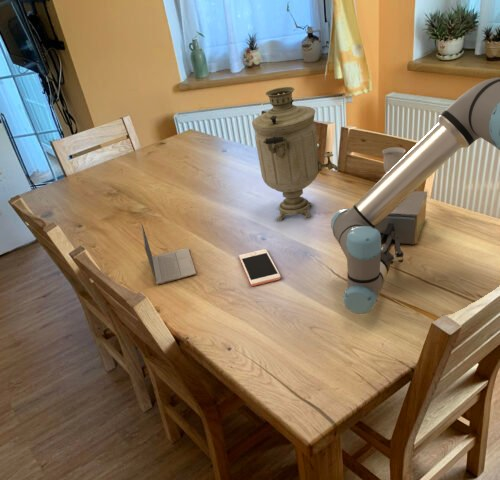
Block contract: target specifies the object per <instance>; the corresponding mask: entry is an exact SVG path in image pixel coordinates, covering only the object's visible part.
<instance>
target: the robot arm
mask: <svg viewBox="0 0 500 480" xmlns="http://www.w3.org/2000/svg"><path fill="white" fill-rule="evenodd" d="M479 139H482V140H484V141H486V142H487V143H489V144H490V145H492V146H493V147H495V148H496V149H497V150H499V151H500V77H499V76H497V77H492V78H488V79H485V80H483V81H481V82H479V83H477V84H475V85H473V86H472V87H471V88H469V89H468V90H466V91H465V92H464V93H462V94H461V95H460V96H459V97H458V98H456V99H455V100H454V101H453V102H452V103H451V104H450V105H448V106H447V108H445V110H444V111H443V112H442V113H440V114H439V116H438V118H437V123H436V124H435V126H433V127H432V128H431V130H429V131H428V132H427V133H426V134H425V136H423V138H421V139H420V140H419V141H418V142H417V143H416V144H415V145H414V146H413V147H412V148H411V149H410V150H408V152H407V153H405V154H404V155H403V158H402V159H401V160H400V161H399V162H398V163H397V164H396V165H395V166H394V167H393V168H392V169H391V170H390V171H389V172H388V173H387V174H386V173H385V174H384V175H383V176H382V177H381V178H380V179H379V180H378V181H377V182H376V183H375V184H374V185H373V186H372V187H371V188H370V189H369V190H367V192H366V193H365V194H364V195H363V196H362V197H361V198H360V199H359V200H358V201H357V202H356V203H355V204H354V205H353V206H351V207H350V208H343V209H339V210H338V211H337V212H335V213H334V215H332V218H331V221H330V228H331V230H332V234H333V236H334V238H335V240H336V242H337V243H338V244H339V247H340V249H341V251H342V252H343V254H344V255H345V258H346V268H347V269H346V270H347V277H346V278H347V279H346V281H347V285H346V289H345V291H344V295H343V300H342V301H343V304H344V307H345V308H346V309H347V310H348V311H349V312H351V313H353V314H356V315H365V314H368V313H370V312H371V311H372V310H373V309H374V307H375V305H376V304H377V302H378V298H379V296H380V293H381V291H382V289H383V285H384V282H385V280H386V277H387V275H388V273H389V270H390V268H391V266H392V265H394V263H395V262H398V263H403V262H404V254H405V253H404V252H403V251H402V247H401V243H400V239H399V237H398V236H397V237H395V231H394V224H393V223H388V226H387V228H386V230H385V231H381V232H379V231H378V230H377V229H373V228H374V227H375V226H377V225H378V224H379V223H380V222H381V221H382V220H383V219H384V218H385V217H386V216H387V215H388V214H390V213H391V212H392V211H393V210H394V209H395V208H396V207H397V206H398V205H399V204H400V203H401V202H403V201H404V200H405V199H406V198H407V197H408V196H409V195H410V194H411V193H412V192H413V191H417V189H418V188H419V187H420V186H421V185H422V184H423V183H424V182H426V181H427V180H428V179H429V178H430V177H431V176H432V175H433V174H434V173H435V172H436V171H437V170H439V168H440V167H442V166H443V165H444V164H445V163H446V162H447V161H448V160H449V159H450V158H451V157H453V156H454V155H455V154H456V153H457V152H458V151H459V150H460V149H464V148H465V149H466V148H469V147H470V146H471V145H472V144H473V143H474V142H476V141H477V140H479ZM393 246H394V254H392V253H391V252H390V251H391V250H392V247H393Z"/></svg>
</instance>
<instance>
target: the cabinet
mask: <svg viewBox="0 0 500 480" xmlns="http://www.w3.org/2000/svg"><path fill="white" fill-rule="evenodd" d="M427 199H428V191H423V190H422V191H421V190H414V191H413V192H412V193H411V194H410V195H409V196H408V197H407V198H406V199H405V200H404V201H403V202H401V203H400V204H399V205H398V206H397V207H396V208H395V209H394V210H393V211H392V212H391V213H390V214H388V216H407V217H415V232H414V243H413V244H412V245H414V246H415V245H417V244H418V240H419V238H420V235H421V233H422V229H423V227H424V224H425V222H426V212H427V201H428V200H427ZM401 244H403V245H411V244H410V243H400V245H401Z"/></svg>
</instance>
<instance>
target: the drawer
mask: <svg viewBox="0 0 500 480" xmlns="http://www.w3.org/2000/svg"><path fill="white" fill-rule="evenodd" d="M388 223H393V224H394V231H395V237H397V236H398V237H399V239H400V244H401V243H410V244H409V245H414V244H413V243H414V232H415V217H407V216H388V215H387V216H386V217H385V218H384V219H383V220H382V221H381V222H380V223H379V224H378V225H377V226H375V227H374V228H373V229H377V230H378V231H379V232H381V231H385V230H386V228H387V226H388Z"/></svg>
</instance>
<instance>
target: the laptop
mask: <svg viewBox="0 0 500 480" xmlns="http://www.w3.org/2000/svg"><path fill="white" fill-rule="evenodd" d="M140 226H141V233H142V240H143V246H144V247H143V248H144V251H145V254H146V257H147V260H148V264H149V265H150V266H149V267H150V270H151V272H152V276H153V279H154V282H155V284H156V285H161V284H165V283H169V282H172V281H176V280H180V279H184V278H186V277H190V276H194V275H196V274H197V273H196V269H195V266H194V262H193V259H192V256H191V253H190V252H191V251H190V249H189V247H184V248H181V249H180V248H179V249H176V250H172V251H168V252H164V253H160V254H157V255H152V251H151V247H150V245H149V242H148V238H147V234H146V232H145V229H144V225H143V223H142V222H140Z"/></svg>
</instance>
